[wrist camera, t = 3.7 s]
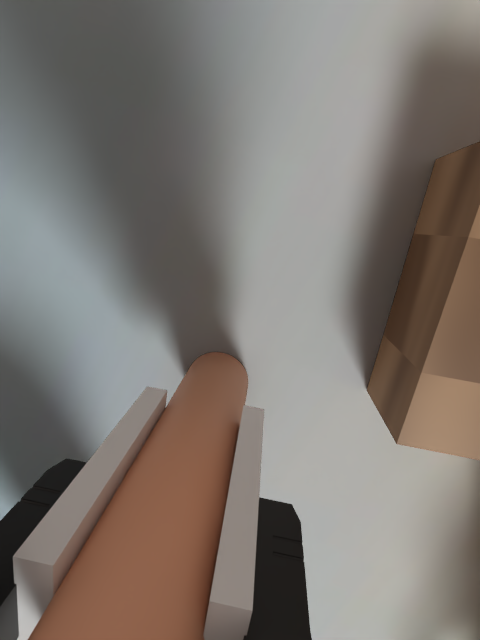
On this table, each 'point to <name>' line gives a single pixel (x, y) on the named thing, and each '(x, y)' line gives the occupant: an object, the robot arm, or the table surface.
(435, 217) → the brown wooden square frame
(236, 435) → the dowel
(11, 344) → the table surface
